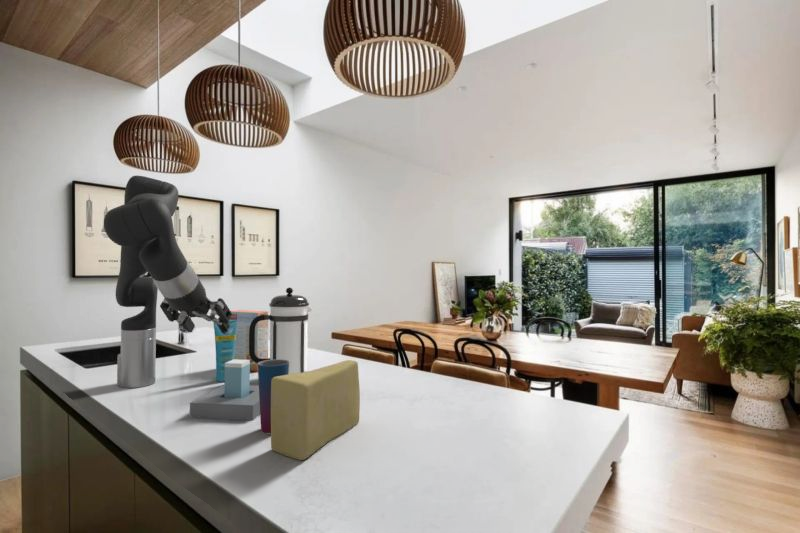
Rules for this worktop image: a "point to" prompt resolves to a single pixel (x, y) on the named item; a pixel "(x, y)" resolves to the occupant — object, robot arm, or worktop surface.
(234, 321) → the tube
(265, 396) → the cup
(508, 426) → the worktop surface
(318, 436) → the cheese
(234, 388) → the white-topped blue pillar
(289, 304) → the coffee press
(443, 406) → the worktop surface
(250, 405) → the socket
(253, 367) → the cracker box
